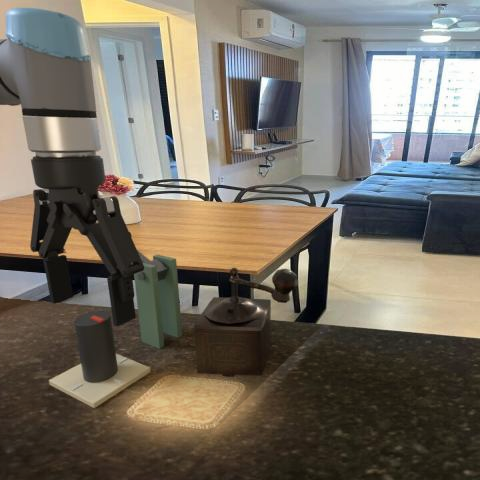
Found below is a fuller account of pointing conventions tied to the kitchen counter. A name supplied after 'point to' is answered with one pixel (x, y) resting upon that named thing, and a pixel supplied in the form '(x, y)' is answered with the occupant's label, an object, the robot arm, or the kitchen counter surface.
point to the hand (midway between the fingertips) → (92, 310)
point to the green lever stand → (158, 302)
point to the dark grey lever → (160, 266)
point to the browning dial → (96, 346)
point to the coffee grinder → (239, 328)
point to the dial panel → (99, 391)
